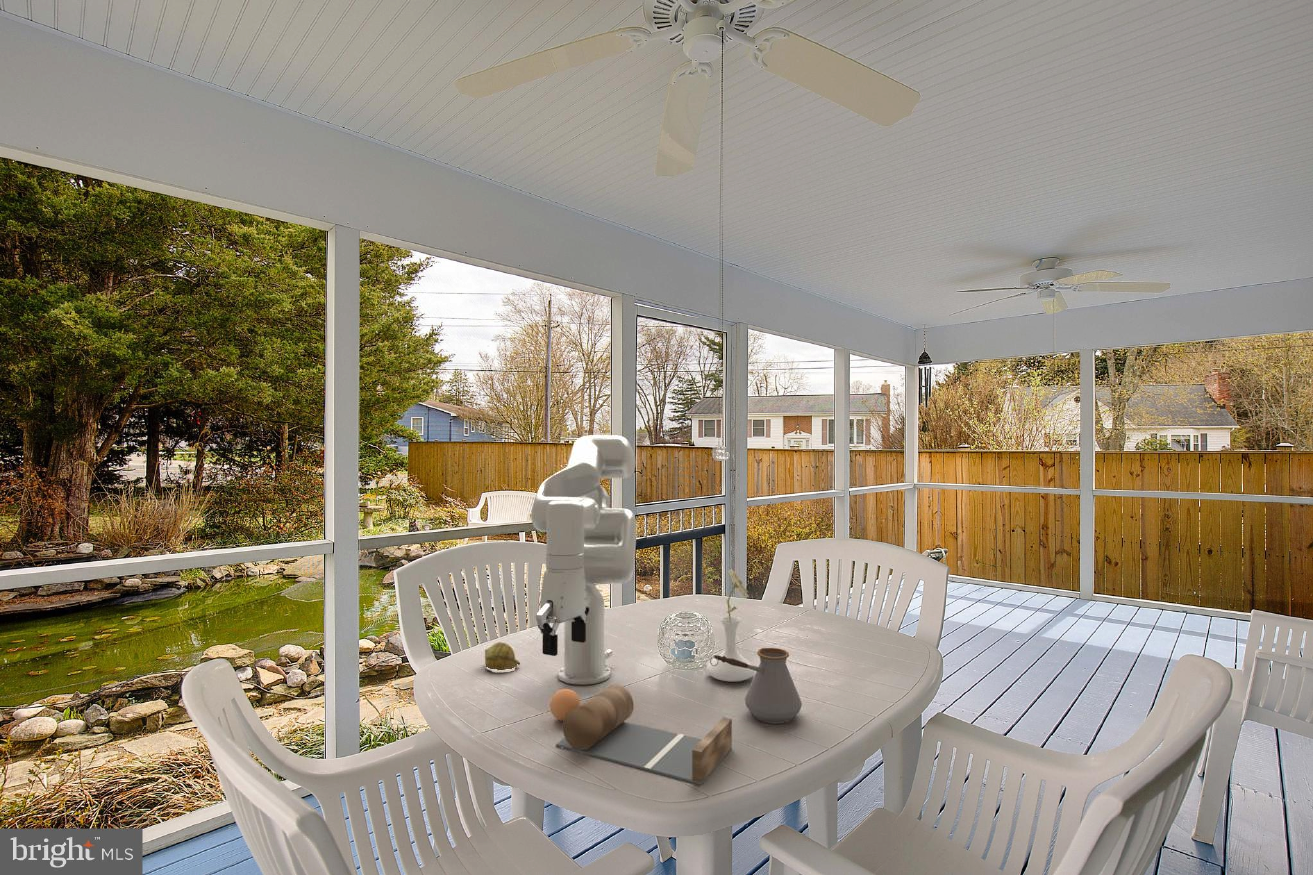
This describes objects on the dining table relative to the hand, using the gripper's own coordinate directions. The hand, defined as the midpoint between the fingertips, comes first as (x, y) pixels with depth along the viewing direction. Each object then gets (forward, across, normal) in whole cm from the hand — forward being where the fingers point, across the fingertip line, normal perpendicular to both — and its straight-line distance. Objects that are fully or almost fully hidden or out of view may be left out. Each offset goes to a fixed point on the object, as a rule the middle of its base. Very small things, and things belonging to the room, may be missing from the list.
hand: (564, 647), depth 130 cm
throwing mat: (+15, +2, +19) cm, 24 cm away
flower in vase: (+14, -39, +21) cm, 46 cm away
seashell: (+14, -18, -32) cm, 39 cm away
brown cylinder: (+15, +2, +10) cm, 18 cm away
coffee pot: (+15, -18, +34) cm, 41 cm away
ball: (+12, -1, 0) cm, 12 cm away
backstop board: (+15, +2, +33) cm, 36 cm away
